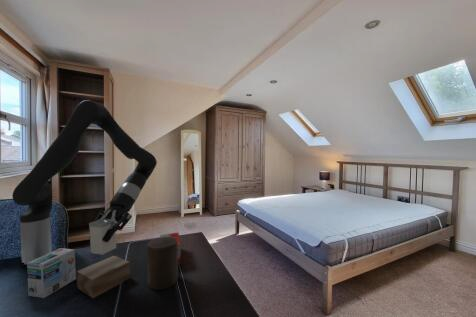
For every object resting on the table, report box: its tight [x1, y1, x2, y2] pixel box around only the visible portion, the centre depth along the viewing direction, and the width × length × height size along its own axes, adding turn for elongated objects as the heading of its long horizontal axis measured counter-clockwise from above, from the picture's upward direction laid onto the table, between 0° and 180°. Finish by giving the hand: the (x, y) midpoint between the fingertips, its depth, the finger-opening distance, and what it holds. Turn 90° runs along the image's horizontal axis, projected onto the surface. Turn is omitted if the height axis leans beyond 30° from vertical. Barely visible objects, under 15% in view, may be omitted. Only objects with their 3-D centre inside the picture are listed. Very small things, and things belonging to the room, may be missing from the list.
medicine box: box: [159, 232, 182, 266], centre depth 88 cm, size 15×8×8 cm, turn 19°
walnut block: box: [76, 255, 131, 299], centre depth 72 cm, size 10×12×6 cm
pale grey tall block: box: [88, 219, 117, 256], centre depth 72 cm, size 5×5×10 cm
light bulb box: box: [26, 247, 77, 299], centre depth 70 cm, size 11×7×11 cm, turn 168°
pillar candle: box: [146, 237, 179, 291], centre depth 72 cm, size 10×10×15 cm
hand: (98, 240), depth 70 cm, fingers closed on pale grey tall block, 5 cm apart
